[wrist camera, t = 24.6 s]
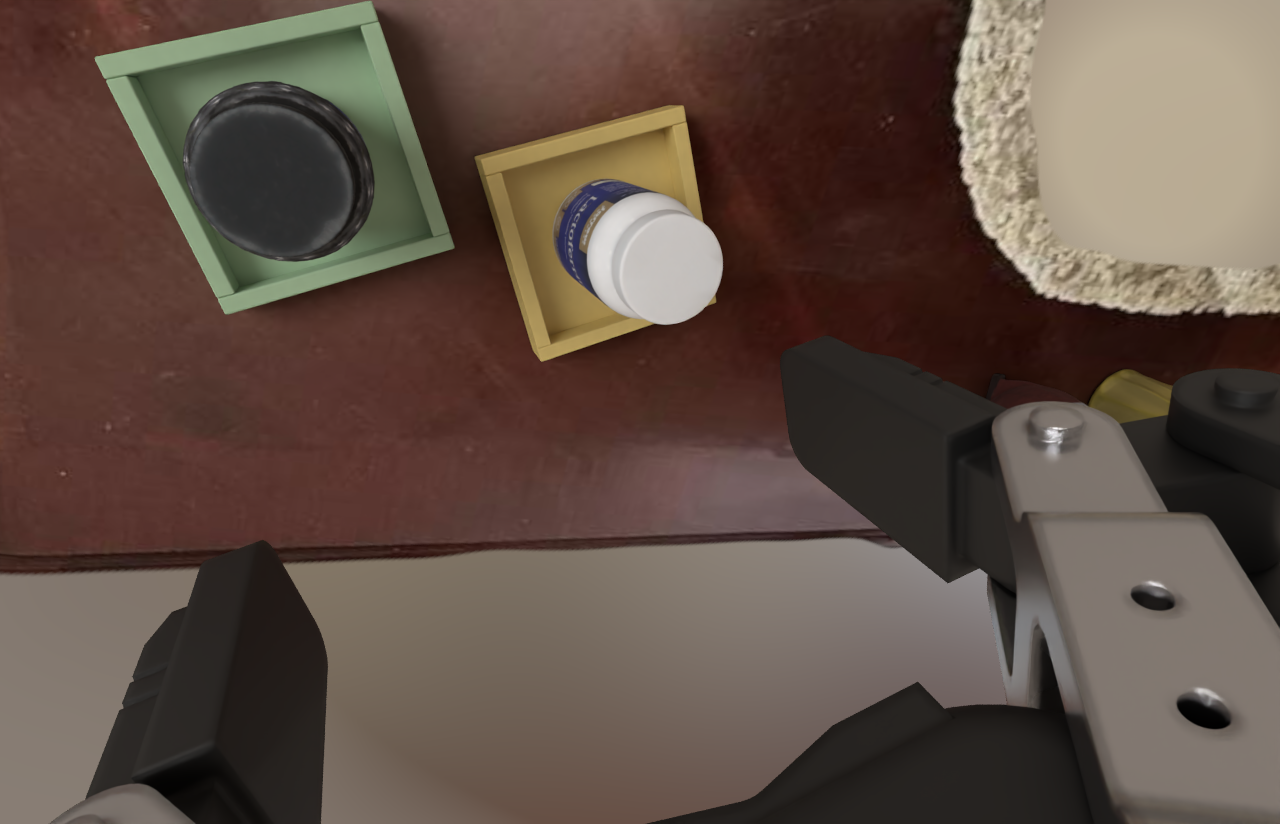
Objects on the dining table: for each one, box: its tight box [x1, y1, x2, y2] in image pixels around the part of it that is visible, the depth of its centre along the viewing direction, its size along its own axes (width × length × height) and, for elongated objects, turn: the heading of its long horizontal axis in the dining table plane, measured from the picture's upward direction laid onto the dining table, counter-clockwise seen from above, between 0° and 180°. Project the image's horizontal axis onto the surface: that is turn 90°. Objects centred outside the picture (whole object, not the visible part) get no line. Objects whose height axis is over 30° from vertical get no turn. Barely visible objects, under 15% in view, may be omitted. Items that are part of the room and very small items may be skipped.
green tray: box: [95, 1, 454, 315], centre depth 31 cm, size 11×11×2 cm
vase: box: [1088, 369, 1173, 423], centre depth 53 cm, size 6×6×14 cm
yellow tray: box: [475, 105, 716, 362], centre depth 37 cm, size 11×11×2 cm
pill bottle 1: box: [183, 81, 375, 262], centre depth 27 cm, size 6×6×11 cm
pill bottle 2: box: [552, 179, 723, 325], centre depth 34 cm, size 6×6×10 cm
